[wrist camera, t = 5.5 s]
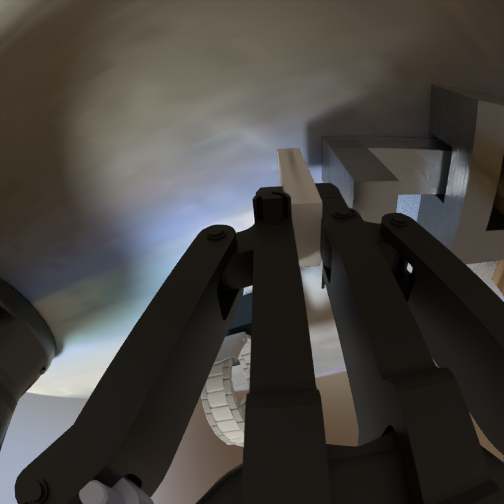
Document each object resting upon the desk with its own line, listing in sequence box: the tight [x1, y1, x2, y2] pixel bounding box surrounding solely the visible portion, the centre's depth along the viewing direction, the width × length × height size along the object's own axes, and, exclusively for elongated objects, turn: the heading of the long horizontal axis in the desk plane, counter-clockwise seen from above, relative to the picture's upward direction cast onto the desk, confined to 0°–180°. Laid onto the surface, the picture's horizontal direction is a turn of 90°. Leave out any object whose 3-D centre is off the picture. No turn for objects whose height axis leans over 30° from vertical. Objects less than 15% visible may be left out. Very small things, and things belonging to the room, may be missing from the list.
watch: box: [201, 293, 252, 447], centre depth 22 cm, size 6×8×11 cm
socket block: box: [417, 85, 504, 264], centre depth 16 cm, size 10×10×5 cm
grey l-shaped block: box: [322, 136, 453, 224], centre depth 15 cm, size 10×3×7 cm, turn 95°
